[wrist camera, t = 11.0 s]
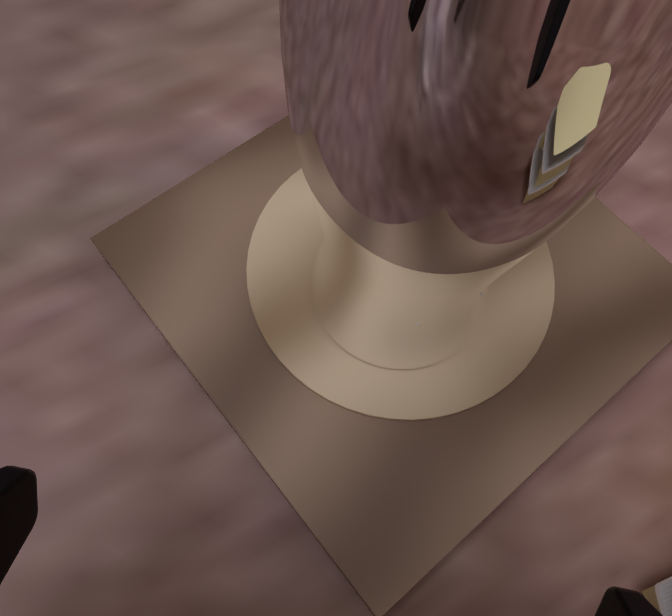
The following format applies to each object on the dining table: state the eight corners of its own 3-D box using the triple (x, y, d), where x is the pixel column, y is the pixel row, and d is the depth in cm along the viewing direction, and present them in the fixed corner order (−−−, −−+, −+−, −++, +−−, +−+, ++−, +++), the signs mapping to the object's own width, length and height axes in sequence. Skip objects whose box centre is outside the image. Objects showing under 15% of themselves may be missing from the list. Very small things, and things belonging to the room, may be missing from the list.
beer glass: (257, 290, 21) (132, -250, 7) (388, 170, 23) (499, -431, 9) (409, 428, 19) (660, 87, 5) (535, 284, 21) (959, -235, 7)
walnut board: (688, 316, 23) (718, 297, 21) (373, 614, 18) (379, 620, 17) (409, 63, 27) (415, 31, 25) (104, 257, 23) (87, 234, 21)
